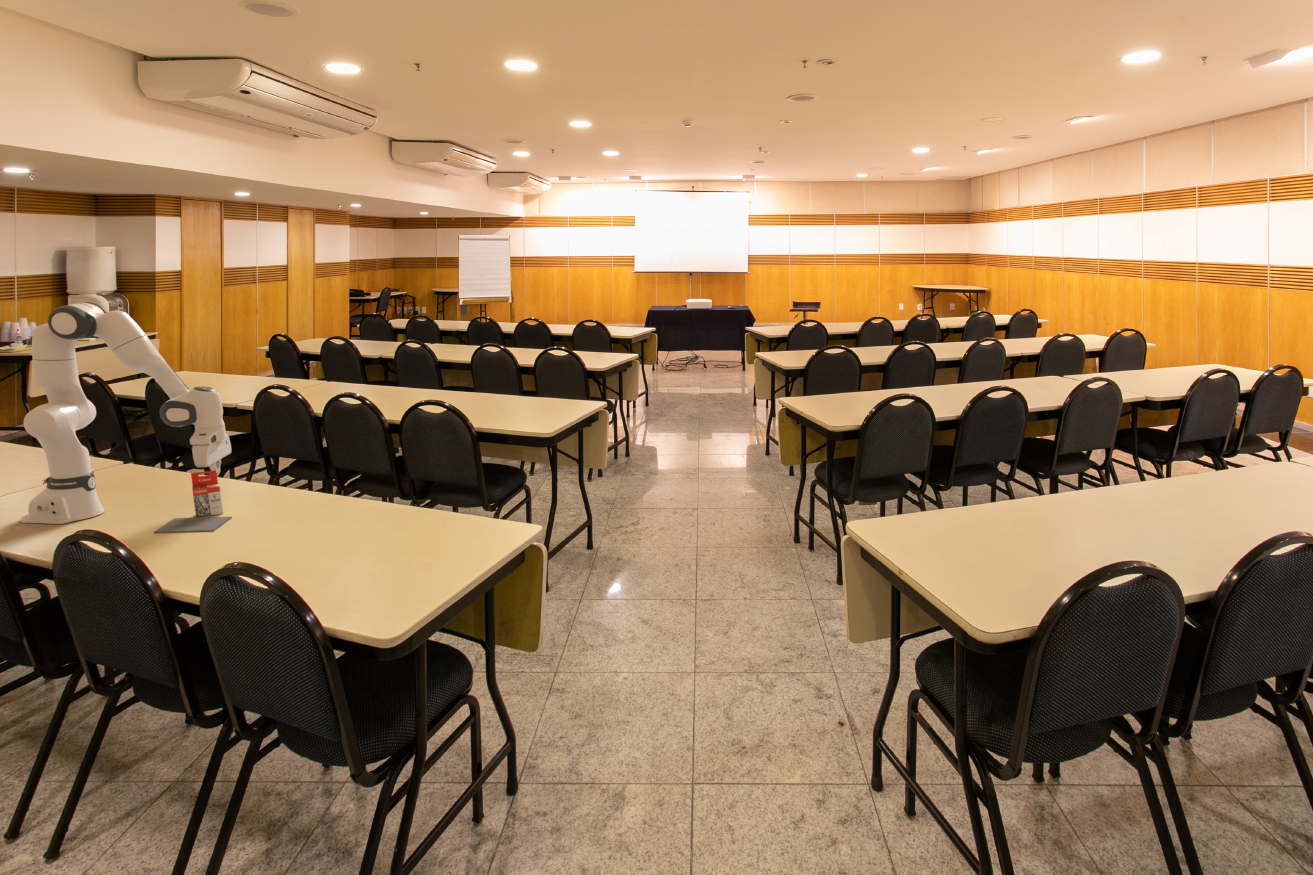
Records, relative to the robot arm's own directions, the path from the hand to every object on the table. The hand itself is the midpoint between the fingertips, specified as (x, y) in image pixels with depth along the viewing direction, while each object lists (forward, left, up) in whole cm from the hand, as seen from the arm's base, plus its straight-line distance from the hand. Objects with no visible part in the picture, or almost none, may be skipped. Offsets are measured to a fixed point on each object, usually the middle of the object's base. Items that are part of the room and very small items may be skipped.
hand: (216, 473), depth 263 cm
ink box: (0, -8, -12) cm, 15 cm away
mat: (0, -19, -12) cm, 23 cm away
